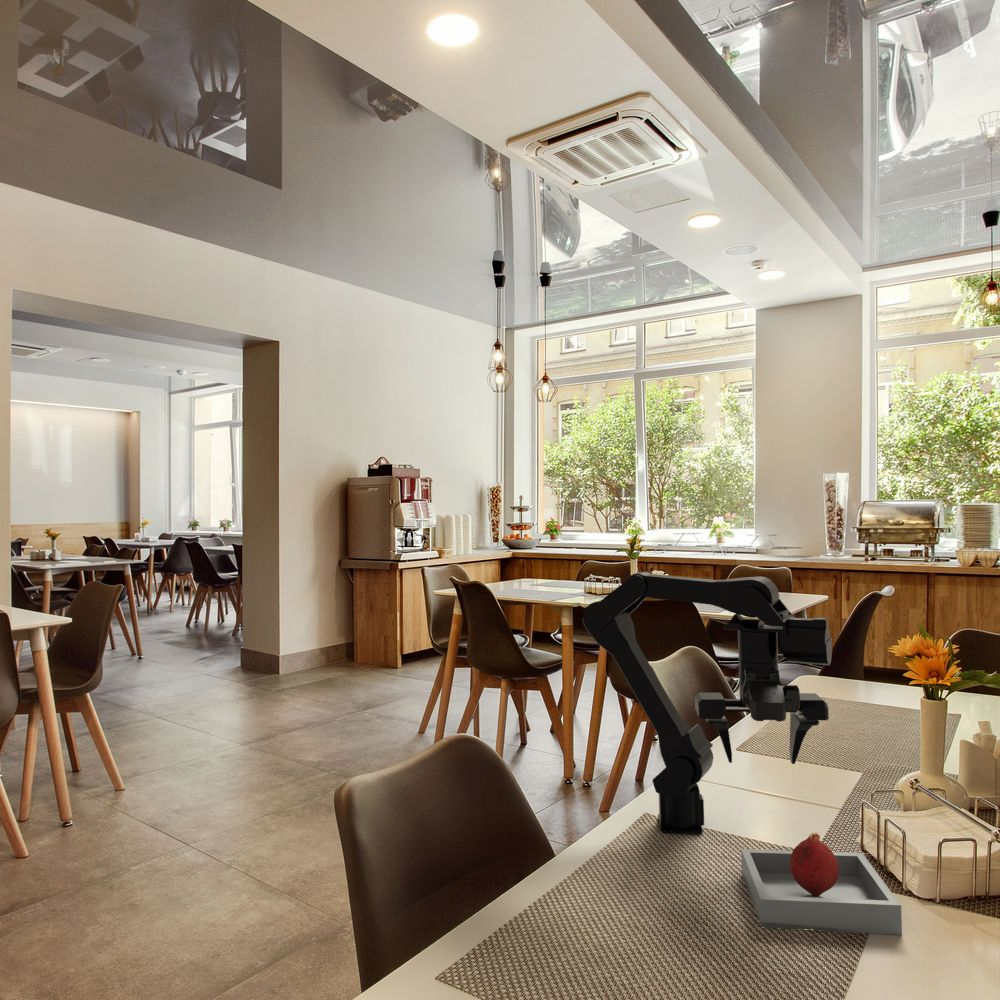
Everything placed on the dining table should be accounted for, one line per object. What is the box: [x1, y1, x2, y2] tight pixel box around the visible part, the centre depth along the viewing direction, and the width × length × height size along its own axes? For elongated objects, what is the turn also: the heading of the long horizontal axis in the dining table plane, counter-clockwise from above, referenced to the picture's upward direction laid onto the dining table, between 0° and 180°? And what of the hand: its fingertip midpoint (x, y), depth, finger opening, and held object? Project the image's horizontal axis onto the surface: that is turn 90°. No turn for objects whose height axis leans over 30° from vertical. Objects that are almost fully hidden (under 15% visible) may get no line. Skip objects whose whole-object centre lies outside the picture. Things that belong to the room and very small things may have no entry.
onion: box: [790, 832, 839, 896], centre depth 100 cm, size 6×6×8 cm
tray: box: [740, 848, 903, 936], centre depth 100 cm, size 16×14×4 cm
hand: (761, 762), depth 118 cm, fingers open, 9 cm apart
